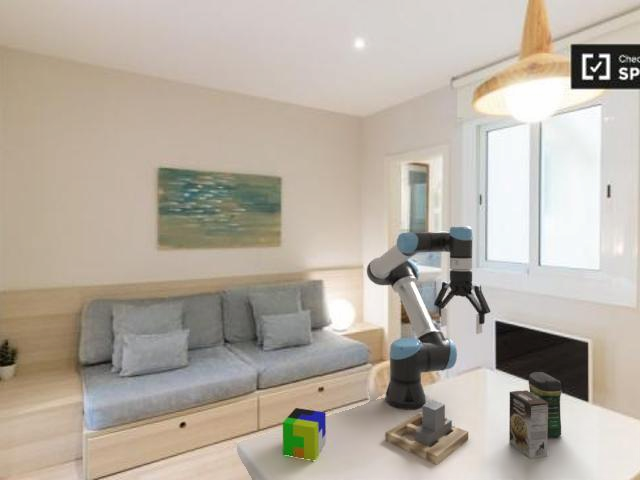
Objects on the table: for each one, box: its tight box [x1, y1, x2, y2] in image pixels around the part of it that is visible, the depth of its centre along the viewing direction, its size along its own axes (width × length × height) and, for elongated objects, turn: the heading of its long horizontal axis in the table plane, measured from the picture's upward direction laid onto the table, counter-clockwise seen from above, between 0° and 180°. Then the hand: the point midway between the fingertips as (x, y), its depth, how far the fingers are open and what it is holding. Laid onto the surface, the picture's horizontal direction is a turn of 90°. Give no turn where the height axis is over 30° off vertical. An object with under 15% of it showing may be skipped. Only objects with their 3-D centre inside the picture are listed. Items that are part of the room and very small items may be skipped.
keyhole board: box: [384, 412, 469, 465], centre depth 125 cm, size 18×19×2 cm
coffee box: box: [508, 390, 548, 459], centre depth 119 cm, size 9×6×16 cm
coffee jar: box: [528, 371, 563, 439], centre depth 130 cm, size 10×8×19 cm
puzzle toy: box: [282, 407, 327, 461], centre depth 121 cm, size 10×10×10 cm
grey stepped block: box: [414, 399, 453, 448], centre depth 123 cm, size 4×14×12 cm, turn 133°
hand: (460, 329), depth 141 cm, fingers open, 13 cm apart
